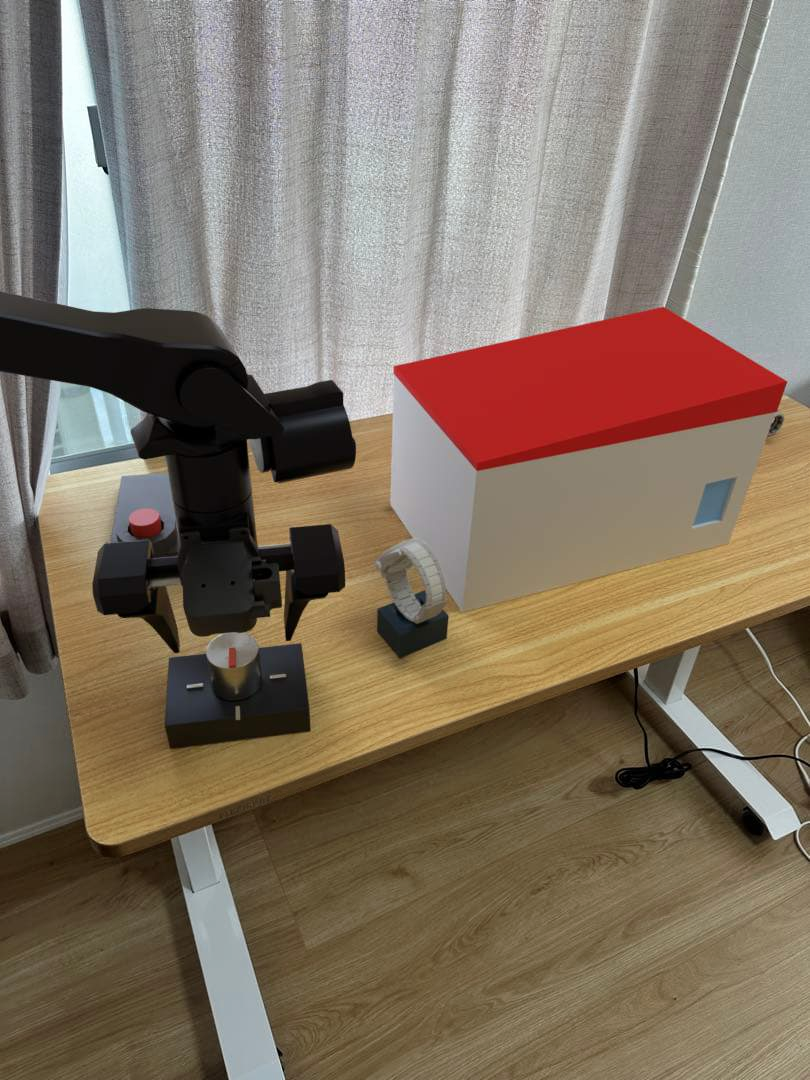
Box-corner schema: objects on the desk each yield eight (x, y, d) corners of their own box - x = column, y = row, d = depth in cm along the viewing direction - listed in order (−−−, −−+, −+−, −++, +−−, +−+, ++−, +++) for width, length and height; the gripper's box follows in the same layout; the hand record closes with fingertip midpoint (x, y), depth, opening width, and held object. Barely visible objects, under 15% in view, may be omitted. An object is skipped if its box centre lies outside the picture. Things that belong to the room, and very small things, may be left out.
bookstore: (731, 543, 94) (789, 381, 82) (462, 612, 83) (480, 437, 71) (629, 454, 110) (665, 306, 97) (389, 503, 98) (394, 343, 86)
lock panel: (169, 752, 68) (164, 727, 66) (173, 677, 75) (168, 653, 73) (311, 734, 70) (309, 710, 68) (302, 662, 77) (301, 639, 75)
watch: (413, 601, 84) (417, 517, 78) (456, 649, 79) (465, 562, 72) (366, 620, 82) (367, 534, 75) (408, 670, 77) (412, 582, 70)
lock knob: (211, 666, 72) (206, 631, 70) (261, 661, 73) (257, 626, 70) (210, 703, 69) (204, 668, 66) (263, 697, 70) (259, 663, 67)
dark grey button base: (188, 570, 87) (183, 541, 85) (111, 577, 86) (104, 547, 84) (191, 486, 100) (187, 458, 98) (124, 490, 99) (118, 463, 96)
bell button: (161, 537, 86) (158, 524, 85) (130, 540, 85) (127, 527, 84) (162, 520, 88) (160, 507, 87) (132, 522, 88) (129, 509, 87)
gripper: (61, 573, 51) (108, 733, 60) (354, 547, 54) (355, 702, 64) (83, 477, 60) (121, 630, 69) (334, 459, 63) (338, 607, 72)
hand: (233, 643), depth 68 cm, fingers open, 9 cm apart
